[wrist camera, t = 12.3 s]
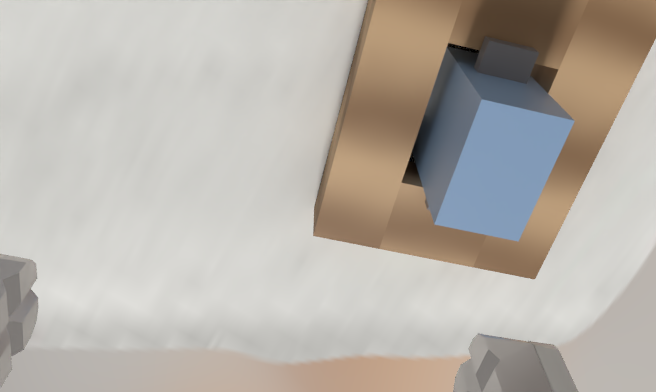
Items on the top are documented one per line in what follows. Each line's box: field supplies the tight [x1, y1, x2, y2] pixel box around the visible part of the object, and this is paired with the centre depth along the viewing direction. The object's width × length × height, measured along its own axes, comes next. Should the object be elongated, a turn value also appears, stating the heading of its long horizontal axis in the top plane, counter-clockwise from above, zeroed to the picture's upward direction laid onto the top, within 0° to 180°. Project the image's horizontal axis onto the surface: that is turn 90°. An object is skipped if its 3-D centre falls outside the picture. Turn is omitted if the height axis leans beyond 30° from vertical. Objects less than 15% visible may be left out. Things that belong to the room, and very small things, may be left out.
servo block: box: [412, 36, 575, 241], centre depth 29 cm, size 9×4×8 cm, turn 167°
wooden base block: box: [313, 0, 656, 279], centre depth 31 cm, size 16×13×3 cm
